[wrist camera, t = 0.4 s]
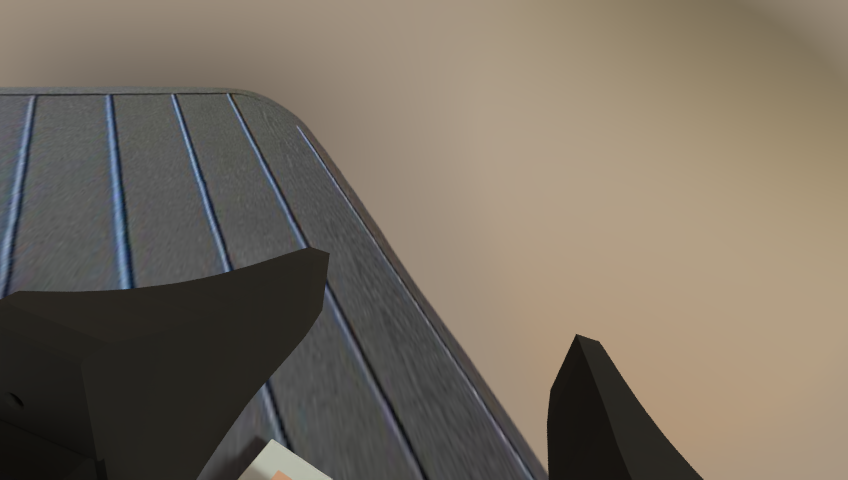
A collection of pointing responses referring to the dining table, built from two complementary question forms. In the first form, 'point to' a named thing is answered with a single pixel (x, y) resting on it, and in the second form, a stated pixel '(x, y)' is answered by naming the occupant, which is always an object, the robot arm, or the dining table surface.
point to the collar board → (280, 466)
